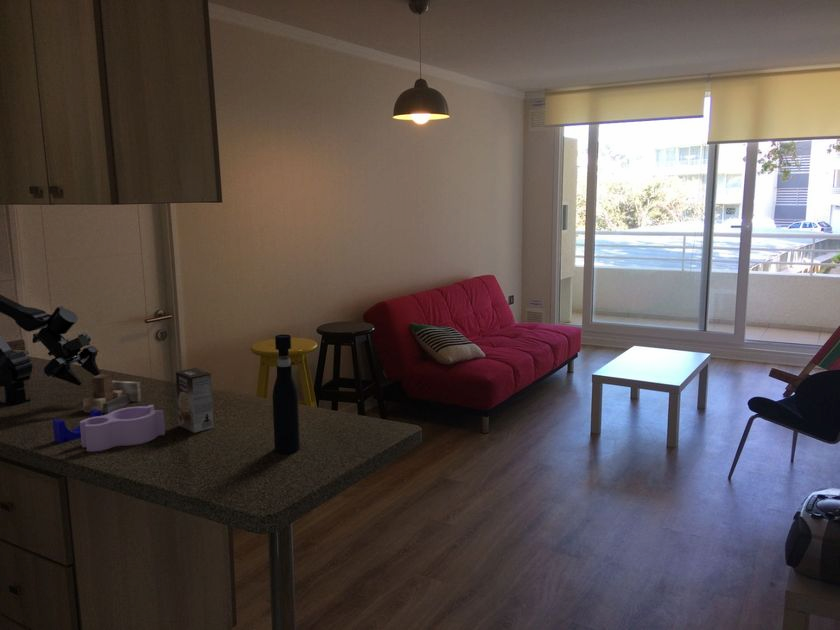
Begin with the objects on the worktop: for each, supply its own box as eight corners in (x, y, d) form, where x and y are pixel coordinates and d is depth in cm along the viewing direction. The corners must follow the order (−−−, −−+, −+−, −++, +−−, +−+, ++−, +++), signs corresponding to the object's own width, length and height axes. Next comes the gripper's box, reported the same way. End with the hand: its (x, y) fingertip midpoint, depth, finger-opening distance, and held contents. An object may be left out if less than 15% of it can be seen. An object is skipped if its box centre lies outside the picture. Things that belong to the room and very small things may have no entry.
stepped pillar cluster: (72, 411, 208) (70, 392, 206) (102, 397, 221) (100, 379, 220) (113, 414, 205) (111, 394, 204) (141, 400, 219) (139, 382, 218)
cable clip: (93, 428, 193) (92, 408, 192) (103, 431, 191) (101, 410, 190) (51, 441, 183) (49, 419, 182) (60, 444, 181) (58, 422, 180)
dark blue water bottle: (287, 455, 172) (283, 339, 167) (269, 450, 175) (264, 336, 170) (304, 447, 177) (301, 335, 172) (286, 443, 181) (282, 332, 176)
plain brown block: (94, 408, 210) (91, 377, 208) (102, 405, 214) (100, 374, 212) (106, 409, 209) (103, 378, 208) (114, 405, 213) (111, 374, 211)
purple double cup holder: (92, 456, 173) (90, 430, 171) (76, 443, 182) (74, 418, 180) (169, 437, 186) (168, 412, 185) (151, 426, 195) (149, 402, 194)
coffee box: (177, 425, 194) (174, 371, 192) (198, 420, 199) (195, 367, 196) (194, 433, 188) (190, 377, 185) (215, 427, 193) (211, 372, 190)
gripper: (49, 332, 200) (85, 371, 200) (91, 321, 218) (124, 356, 218) (28, 357, 203) (63, 395, 203) (70, 343, 221) (103, 379, 221)
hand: (90, 380), depth 211 cm, fingers open, 9 cm apart
